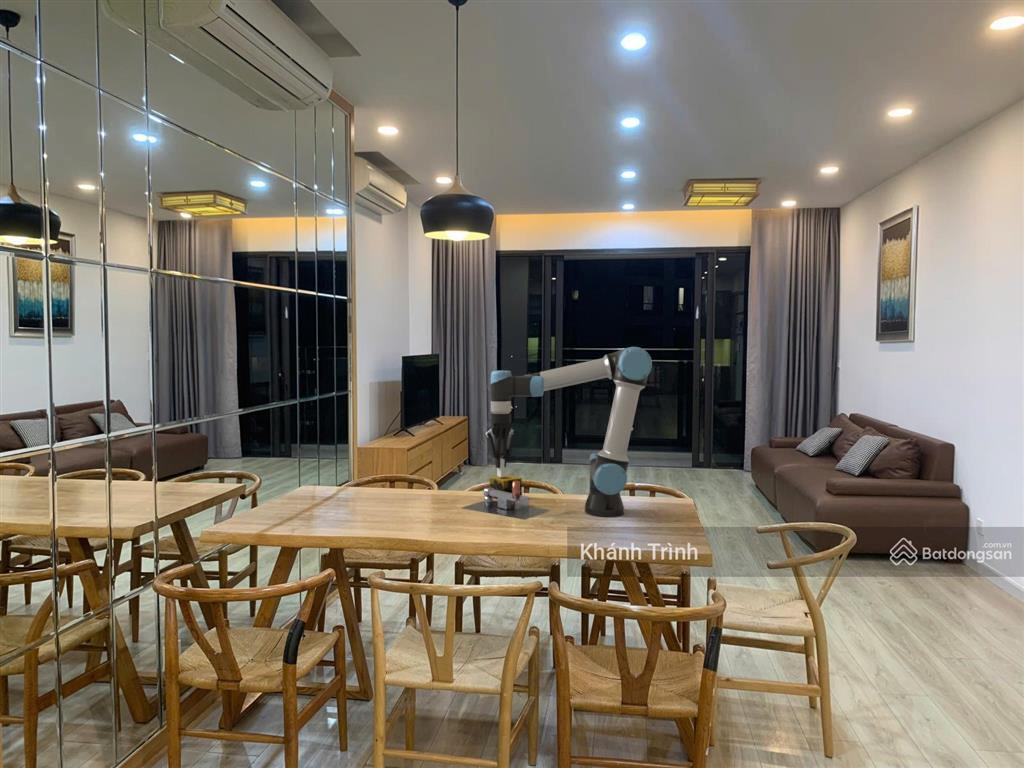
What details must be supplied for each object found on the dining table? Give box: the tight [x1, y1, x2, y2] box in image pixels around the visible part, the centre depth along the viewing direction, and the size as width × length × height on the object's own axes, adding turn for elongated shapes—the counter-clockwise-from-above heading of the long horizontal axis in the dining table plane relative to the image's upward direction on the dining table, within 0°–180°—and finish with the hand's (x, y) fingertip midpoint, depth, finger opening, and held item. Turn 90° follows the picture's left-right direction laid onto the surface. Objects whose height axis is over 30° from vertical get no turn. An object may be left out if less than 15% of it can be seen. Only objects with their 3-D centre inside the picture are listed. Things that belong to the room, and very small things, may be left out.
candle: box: [489, 474, 523, 500], centre depth 276 cm, size 10×10×10 cm
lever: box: [483, 481, 520, 509], centre depth 255 cm, size 18×4×11 cm, turn 45°
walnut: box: [510, 500, 515, 509], centre depth 257 cm, size 4×4×4 cm
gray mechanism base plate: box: [461, 494, 551, 521], centre depth 255 cm, size 30×18×6 cm, turn 55°
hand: (500, 476), depth 245 cm, fingers closed
